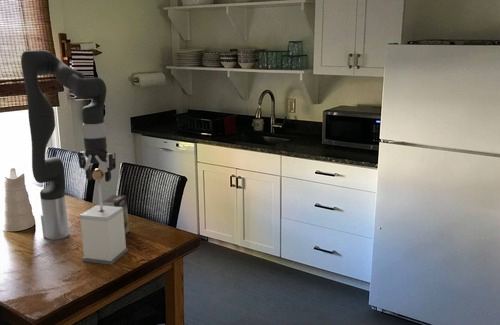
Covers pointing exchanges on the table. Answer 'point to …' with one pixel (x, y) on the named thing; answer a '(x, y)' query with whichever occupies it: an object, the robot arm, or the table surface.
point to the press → (103, 234)
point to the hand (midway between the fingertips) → (98, 180)
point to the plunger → (99, 183)
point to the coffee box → (119, 202)
